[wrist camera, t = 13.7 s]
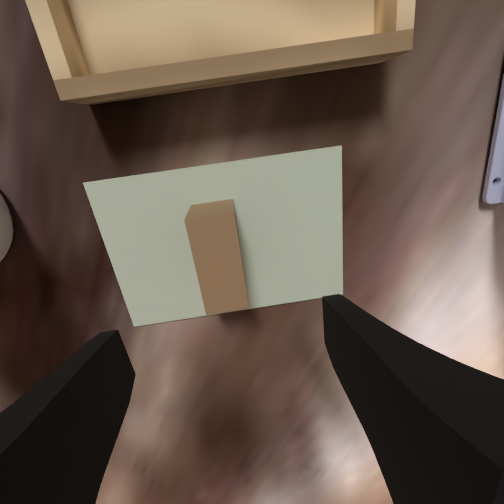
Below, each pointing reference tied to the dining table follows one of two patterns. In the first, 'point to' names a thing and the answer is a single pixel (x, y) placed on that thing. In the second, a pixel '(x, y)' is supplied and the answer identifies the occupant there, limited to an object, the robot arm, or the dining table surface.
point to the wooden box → (209, 42)
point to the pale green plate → (224, 234)
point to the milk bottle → (5, 228)
